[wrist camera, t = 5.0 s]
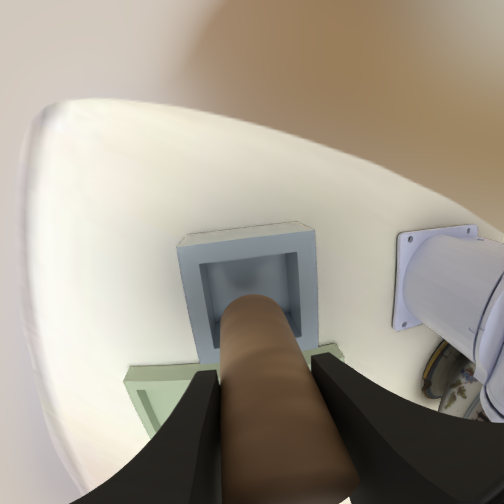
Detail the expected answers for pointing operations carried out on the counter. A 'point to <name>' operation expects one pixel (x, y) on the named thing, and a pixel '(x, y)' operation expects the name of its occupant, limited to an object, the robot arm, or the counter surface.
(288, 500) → the dowel
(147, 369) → the tray
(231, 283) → the blue-grey square socket
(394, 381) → the counter surface
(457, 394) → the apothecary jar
